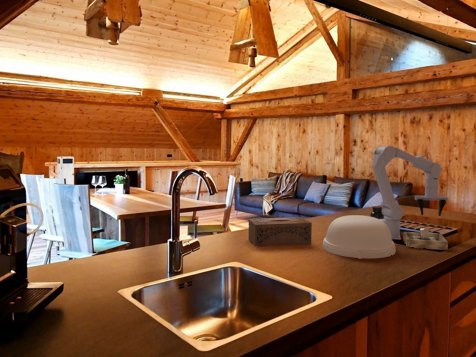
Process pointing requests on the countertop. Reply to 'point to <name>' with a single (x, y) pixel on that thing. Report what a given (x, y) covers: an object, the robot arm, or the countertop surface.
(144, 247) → the countertop surface
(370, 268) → the countertop surface
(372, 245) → the dome cover
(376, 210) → the supplement bottle
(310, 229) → the tissue box cover
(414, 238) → the peg box
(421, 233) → the steel peg
